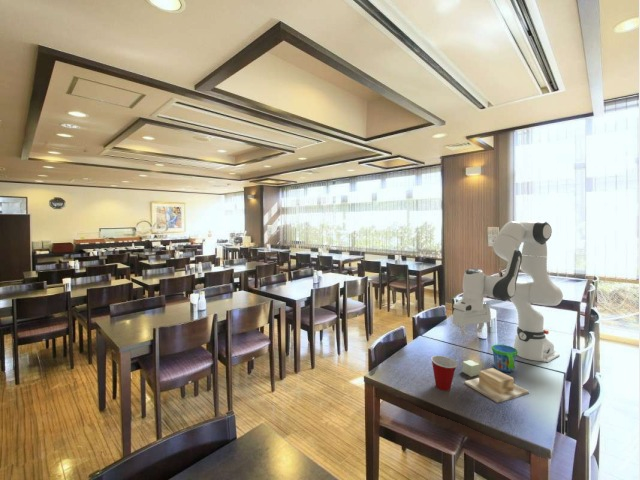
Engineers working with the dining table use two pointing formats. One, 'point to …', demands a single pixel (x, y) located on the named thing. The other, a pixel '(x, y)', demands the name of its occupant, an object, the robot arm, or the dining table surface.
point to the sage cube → (470, 368)
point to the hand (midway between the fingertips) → (471, 333)
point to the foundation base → (494, 394)
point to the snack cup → (504, 357)
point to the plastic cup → (443, 371)
